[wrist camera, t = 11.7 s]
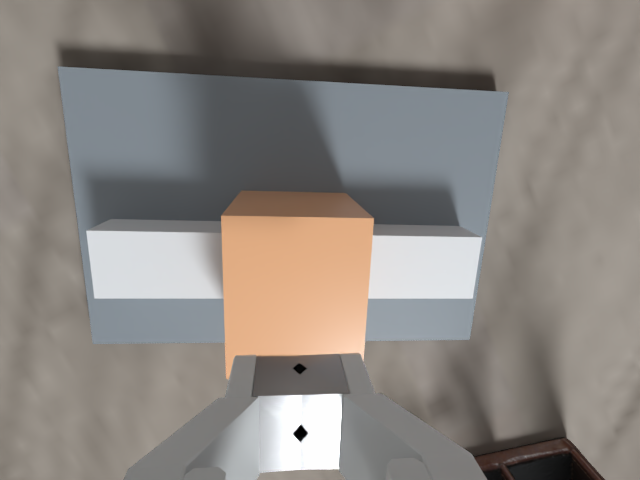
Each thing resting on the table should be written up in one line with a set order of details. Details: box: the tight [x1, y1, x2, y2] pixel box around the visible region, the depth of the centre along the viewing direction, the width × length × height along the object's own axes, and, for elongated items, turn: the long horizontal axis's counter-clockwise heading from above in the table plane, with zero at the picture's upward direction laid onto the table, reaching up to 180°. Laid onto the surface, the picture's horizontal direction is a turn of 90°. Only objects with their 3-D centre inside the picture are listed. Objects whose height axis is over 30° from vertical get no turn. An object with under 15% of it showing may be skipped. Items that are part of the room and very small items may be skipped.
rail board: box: [58, 67, 509, 344], centre depth 18 cm, size 20×13×3 cm, turn 87°
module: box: [221, 191, 374, 379], centre depth 16 cm, size 5×6×6 cm
